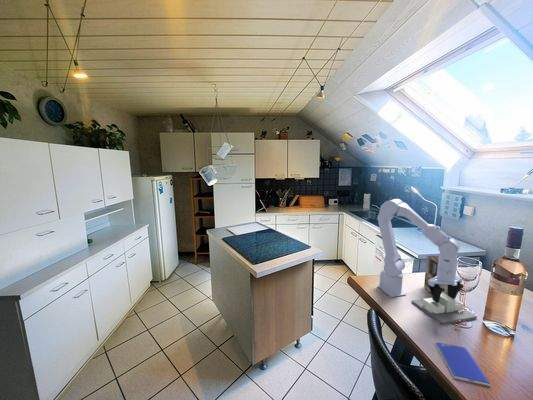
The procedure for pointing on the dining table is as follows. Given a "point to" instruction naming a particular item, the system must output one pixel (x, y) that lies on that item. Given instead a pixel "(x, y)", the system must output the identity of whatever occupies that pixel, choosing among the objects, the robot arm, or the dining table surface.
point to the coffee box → (433, 272)
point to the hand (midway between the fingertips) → (443, 299)
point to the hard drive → (461, 364)
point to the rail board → (446, 315)
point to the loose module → (447, 302)
